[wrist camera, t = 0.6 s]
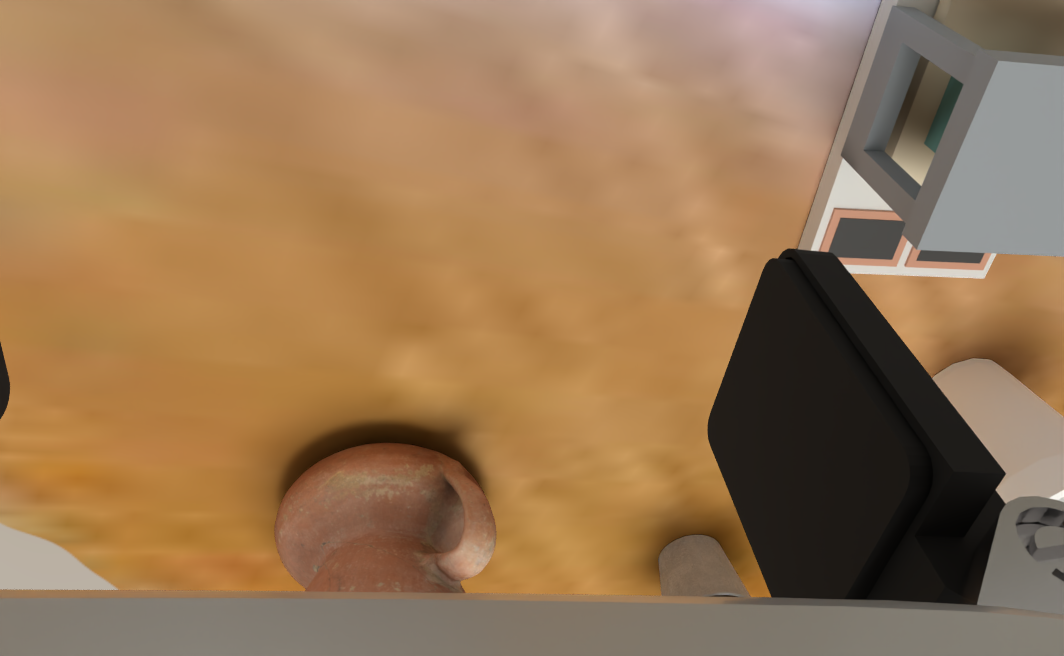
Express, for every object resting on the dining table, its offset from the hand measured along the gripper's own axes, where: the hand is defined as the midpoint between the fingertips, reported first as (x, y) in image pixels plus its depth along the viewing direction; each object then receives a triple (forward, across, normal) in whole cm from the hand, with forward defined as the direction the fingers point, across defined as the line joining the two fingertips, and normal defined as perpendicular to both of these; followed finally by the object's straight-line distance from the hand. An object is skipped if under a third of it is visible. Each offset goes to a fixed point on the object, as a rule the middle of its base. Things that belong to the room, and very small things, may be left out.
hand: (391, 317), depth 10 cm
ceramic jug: (+34, -2, +39) cm, 52 cm away
